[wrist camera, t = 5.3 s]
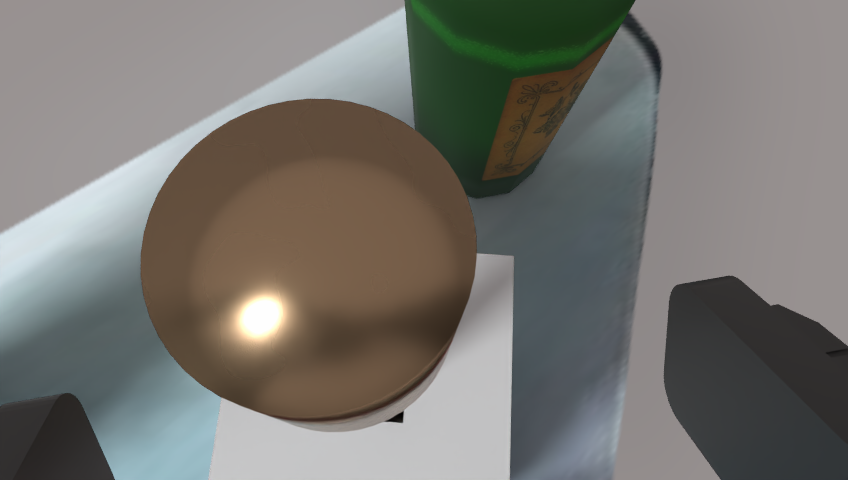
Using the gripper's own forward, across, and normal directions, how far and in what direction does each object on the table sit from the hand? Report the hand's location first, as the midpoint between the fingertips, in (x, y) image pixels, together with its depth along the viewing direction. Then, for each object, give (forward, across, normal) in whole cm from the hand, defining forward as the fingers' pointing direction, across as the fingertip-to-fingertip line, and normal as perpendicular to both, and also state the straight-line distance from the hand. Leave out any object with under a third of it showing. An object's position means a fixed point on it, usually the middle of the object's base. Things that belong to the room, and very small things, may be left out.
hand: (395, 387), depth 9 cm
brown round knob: (+13, -1, -11) cm, 17 cm away
